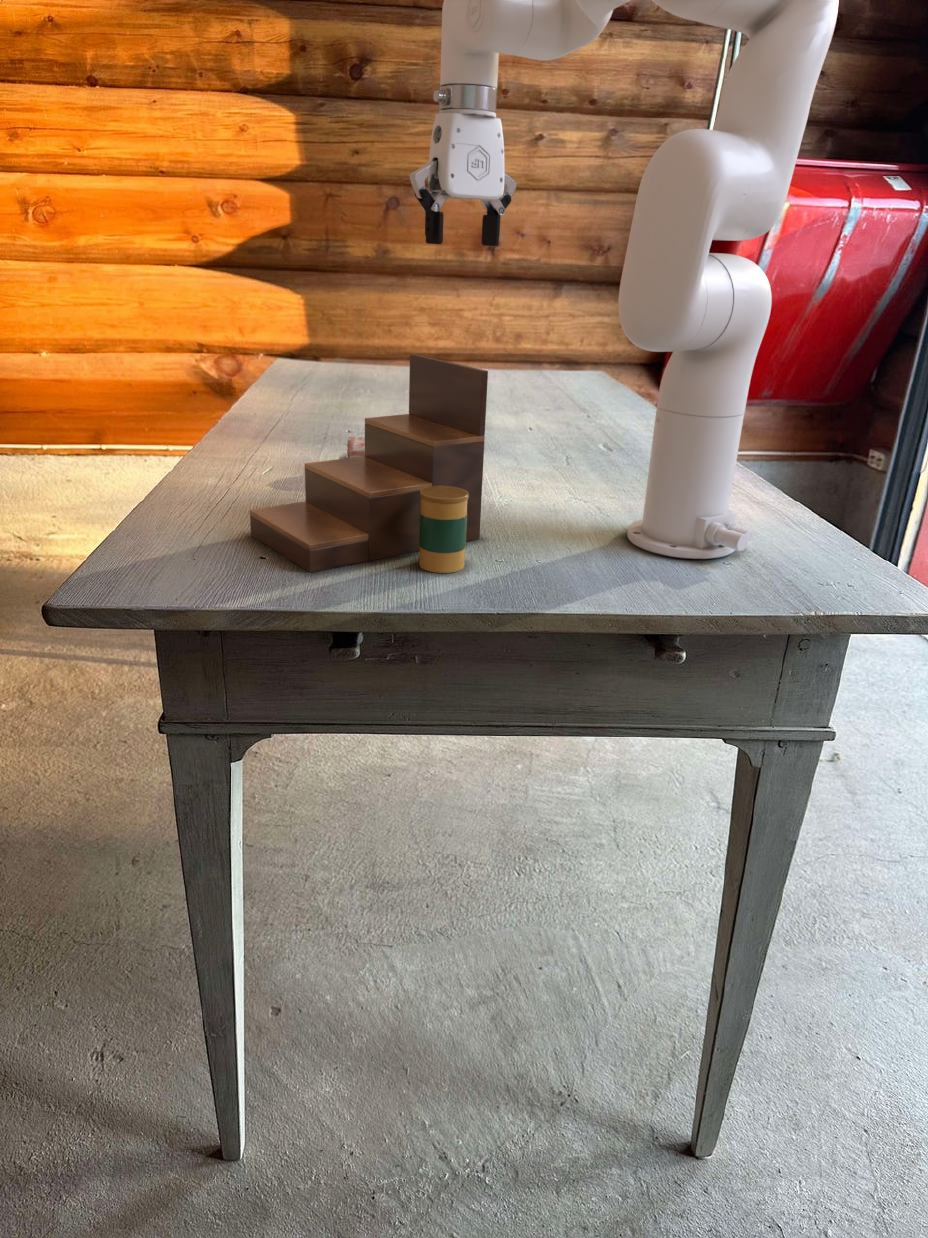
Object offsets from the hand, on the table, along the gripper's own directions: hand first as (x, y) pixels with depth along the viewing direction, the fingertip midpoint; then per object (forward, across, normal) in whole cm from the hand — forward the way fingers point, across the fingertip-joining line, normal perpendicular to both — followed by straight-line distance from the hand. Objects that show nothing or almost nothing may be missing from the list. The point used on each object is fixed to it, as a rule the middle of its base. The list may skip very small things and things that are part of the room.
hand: (462, 244), depth 127 cm
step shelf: (+31, -30, -24) cm, 50 cm away
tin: (+31, -28, -36) cm, 55 cm away
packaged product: (+31, -11, -2) cm, 33 cm away
